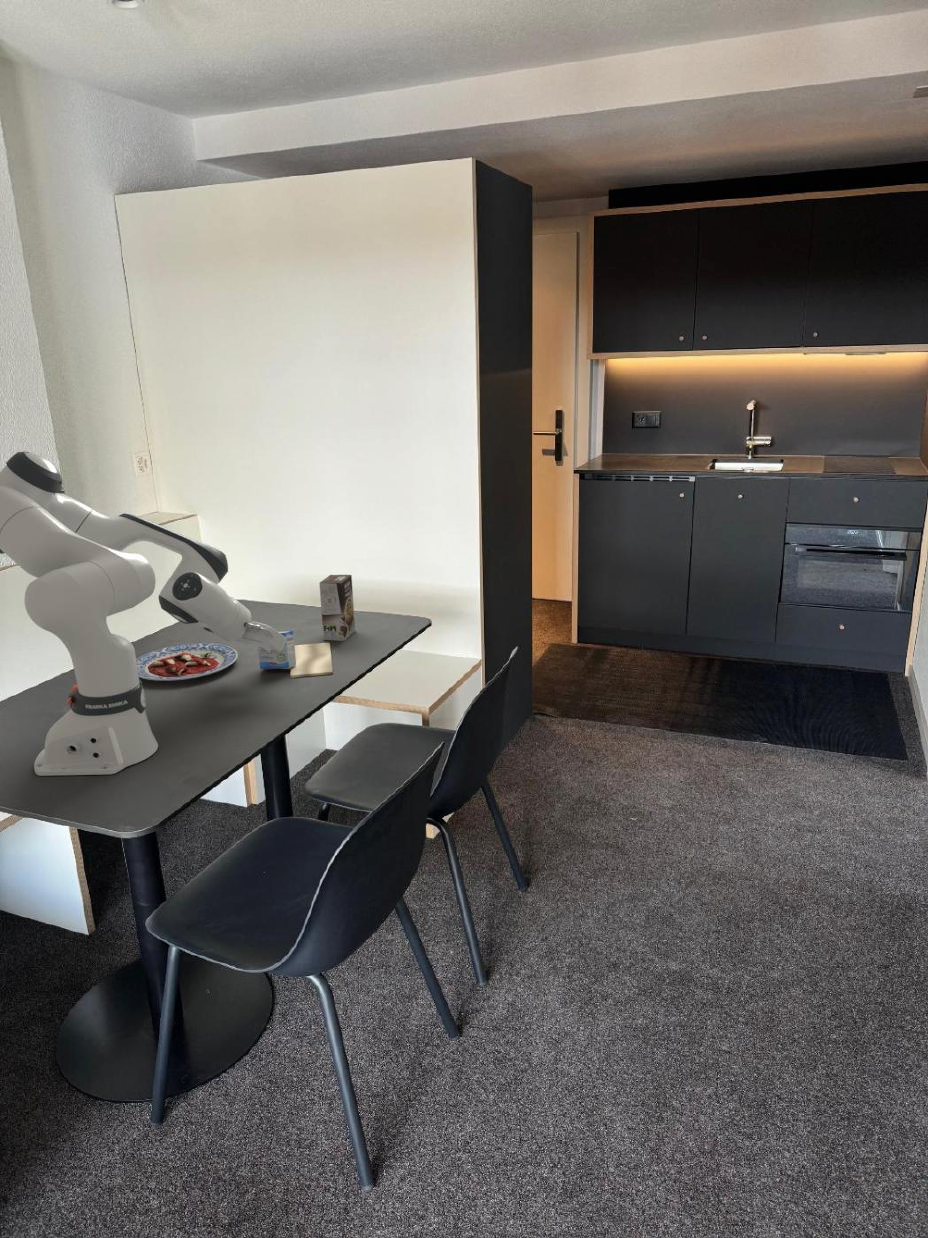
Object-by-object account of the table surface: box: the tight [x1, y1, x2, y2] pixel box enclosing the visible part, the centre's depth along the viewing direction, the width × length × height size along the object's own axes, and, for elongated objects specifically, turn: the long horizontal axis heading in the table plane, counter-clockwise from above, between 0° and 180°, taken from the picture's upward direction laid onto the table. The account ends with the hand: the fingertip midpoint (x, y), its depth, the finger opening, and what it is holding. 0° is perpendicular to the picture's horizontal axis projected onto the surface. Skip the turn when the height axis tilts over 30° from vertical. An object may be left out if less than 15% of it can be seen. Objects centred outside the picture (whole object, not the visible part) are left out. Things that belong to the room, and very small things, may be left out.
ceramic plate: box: [136, 642, 239, 682], centre depth 218 cm, size 26×26×3 cm
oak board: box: [290, 642, 334, 679], centre depth 221 cm, size 10×22×1 cm, turn 10°
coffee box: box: [319, 574, 356, 642], centre depth 236 cm, size 9×6×16 cm
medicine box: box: [257, 630, 296, 670], centre depth 214 cm, size 8×4×9 cm, turn 79°
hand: (267, 648), depth 211 cm, fingers closed
